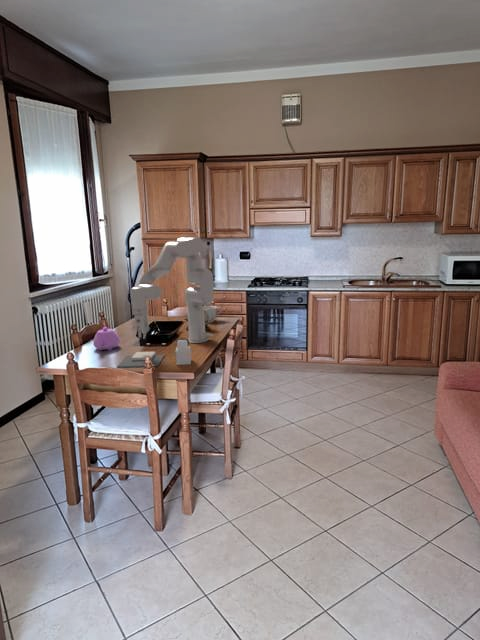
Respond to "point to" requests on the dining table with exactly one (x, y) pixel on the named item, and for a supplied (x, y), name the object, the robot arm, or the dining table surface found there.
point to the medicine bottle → (183, 352)
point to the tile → (142, 355)
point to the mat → (129, 363)
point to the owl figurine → (204, 320)
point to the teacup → (211, 312)
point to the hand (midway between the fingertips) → (143, 345)
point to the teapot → (106, 339)
